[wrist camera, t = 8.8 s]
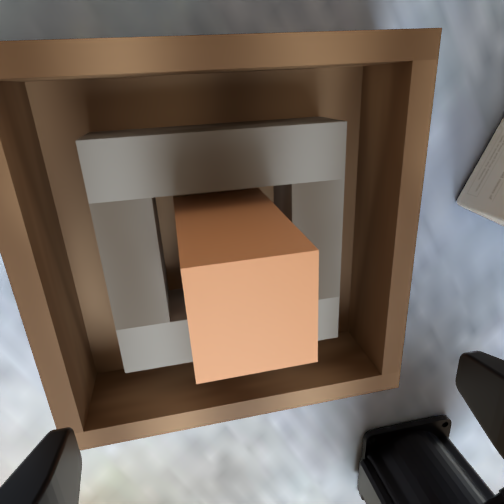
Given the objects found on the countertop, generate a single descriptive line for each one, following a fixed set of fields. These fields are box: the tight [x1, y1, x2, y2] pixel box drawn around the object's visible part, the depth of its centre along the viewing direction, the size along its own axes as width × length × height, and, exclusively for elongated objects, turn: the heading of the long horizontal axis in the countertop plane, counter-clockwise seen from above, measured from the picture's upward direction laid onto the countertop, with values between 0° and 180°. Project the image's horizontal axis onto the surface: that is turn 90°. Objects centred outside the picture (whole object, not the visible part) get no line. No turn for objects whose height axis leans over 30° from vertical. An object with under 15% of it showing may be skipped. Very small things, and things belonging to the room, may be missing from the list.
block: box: [173, 188, 319, 384], centre depth 16 cm, size 4×4×8 cm
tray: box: [0, 28, 442, 450], centre depth 18 cm, size 16×16×4 cm
